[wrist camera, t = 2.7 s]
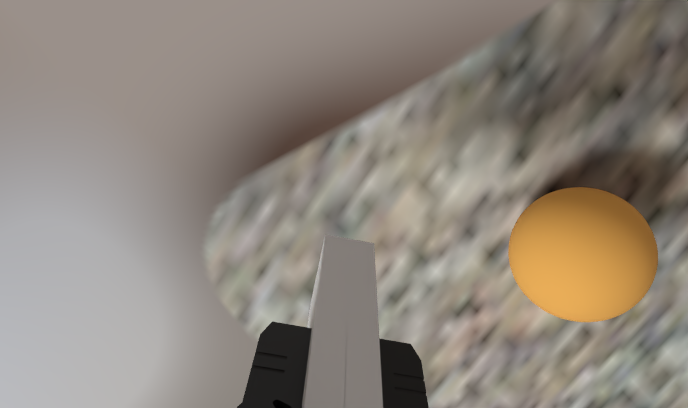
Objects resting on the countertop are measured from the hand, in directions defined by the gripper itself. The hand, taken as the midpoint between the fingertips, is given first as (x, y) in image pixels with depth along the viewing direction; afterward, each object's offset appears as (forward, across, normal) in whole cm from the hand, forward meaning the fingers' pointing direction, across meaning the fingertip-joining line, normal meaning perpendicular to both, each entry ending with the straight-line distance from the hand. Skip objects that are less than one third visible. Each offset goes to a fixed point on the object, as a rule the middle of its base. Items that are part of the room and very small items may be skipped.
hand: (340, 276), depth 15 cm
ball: (+5, -10, 0) cm, 11 cm away
